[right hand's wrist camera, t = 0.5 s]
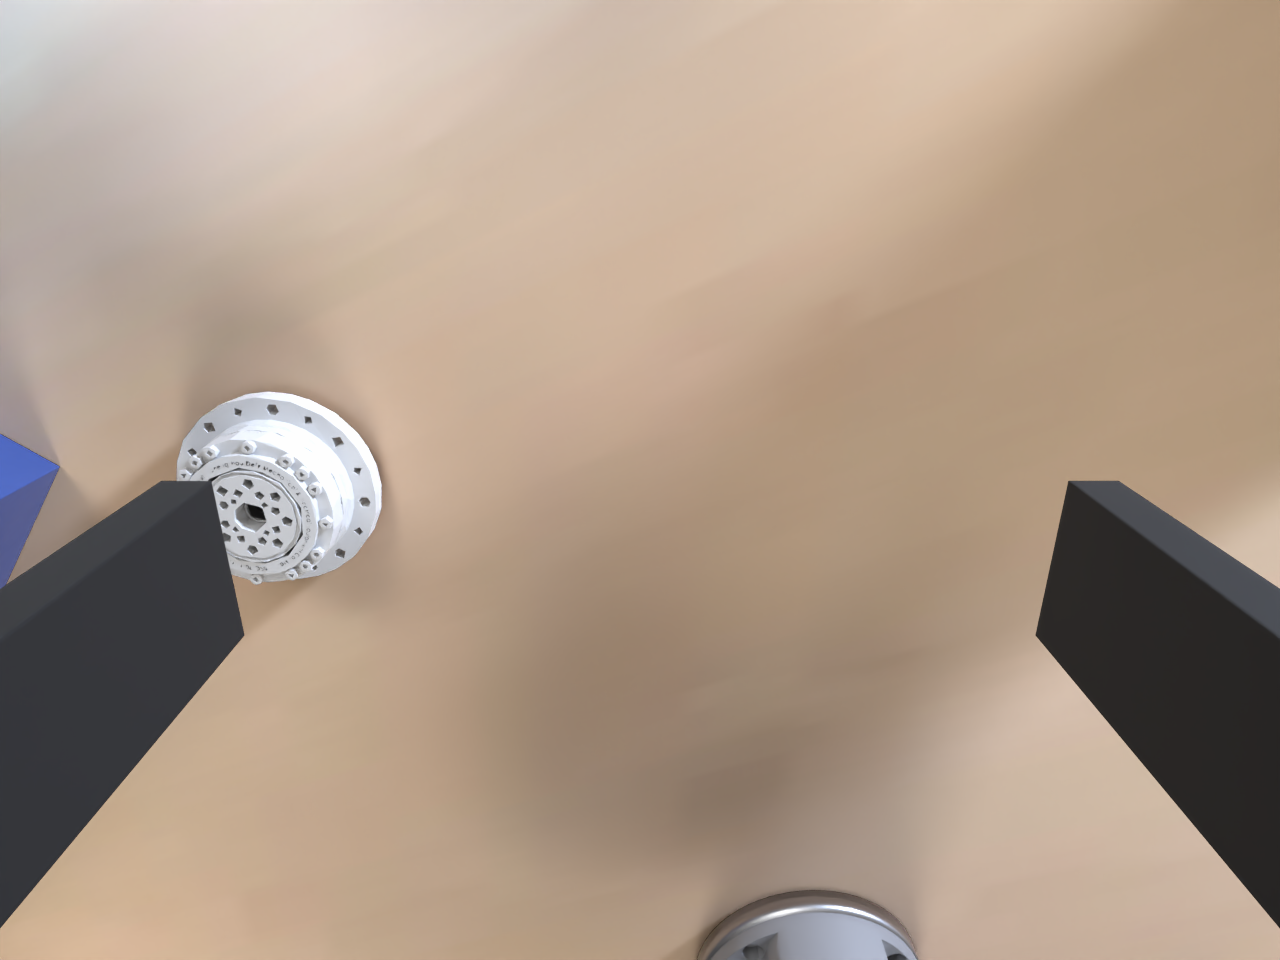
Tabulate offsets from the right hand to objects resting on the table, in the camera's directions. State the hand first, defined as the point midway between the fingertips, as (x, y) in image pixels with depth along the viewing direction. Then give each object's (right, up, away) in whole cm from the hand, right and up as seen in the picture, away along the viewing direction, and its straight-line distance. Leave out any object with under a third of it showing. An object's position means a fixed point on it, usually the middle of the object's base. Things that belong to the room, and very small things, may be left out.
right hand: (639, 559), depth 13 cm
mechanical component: (-18, +1, +29) cm, 35 cm away
